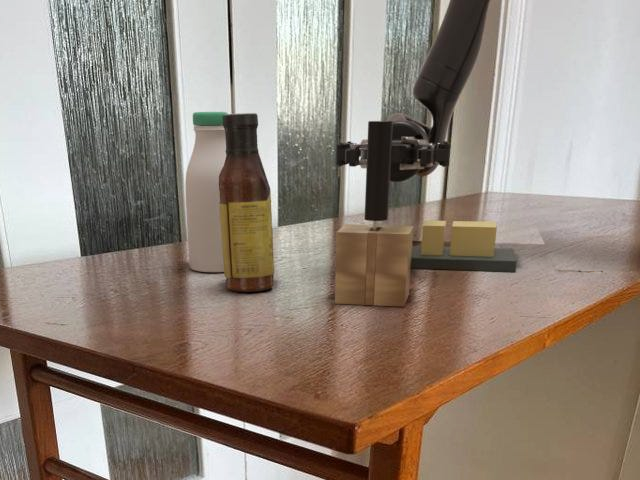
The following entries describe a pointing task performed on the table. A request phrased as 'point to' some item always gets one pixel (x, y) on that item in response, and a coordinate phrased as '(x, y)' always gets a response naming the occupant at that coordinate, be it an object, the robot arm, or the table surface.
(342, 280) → the cardboard box
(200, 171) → the milk bottle
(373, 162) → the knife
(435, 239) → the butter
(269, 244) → the sauce bottle
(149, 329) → the table surface
